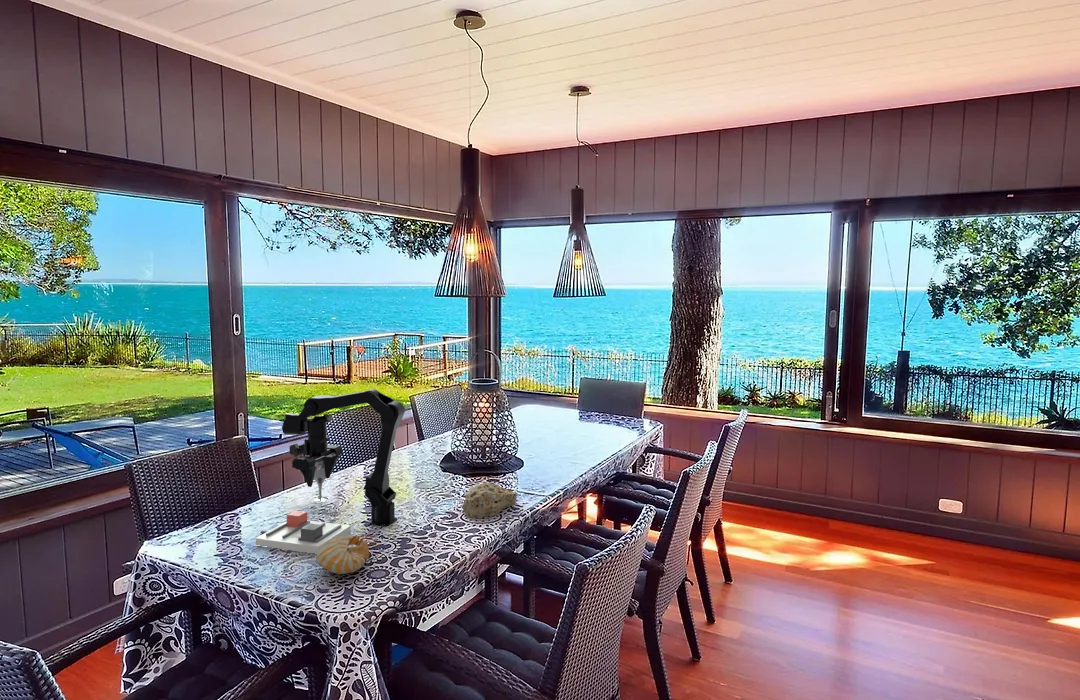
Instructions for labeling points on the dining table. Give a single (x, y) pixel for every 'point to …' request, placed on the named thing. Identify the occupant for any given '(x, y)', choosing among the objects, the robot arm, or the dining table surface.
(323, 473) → the wine glass
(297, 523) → the red switch
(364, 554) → the nautilus
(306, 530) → the grey cube
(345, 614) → the dining table surface
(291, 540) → the white flat slab
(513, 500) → the rock
